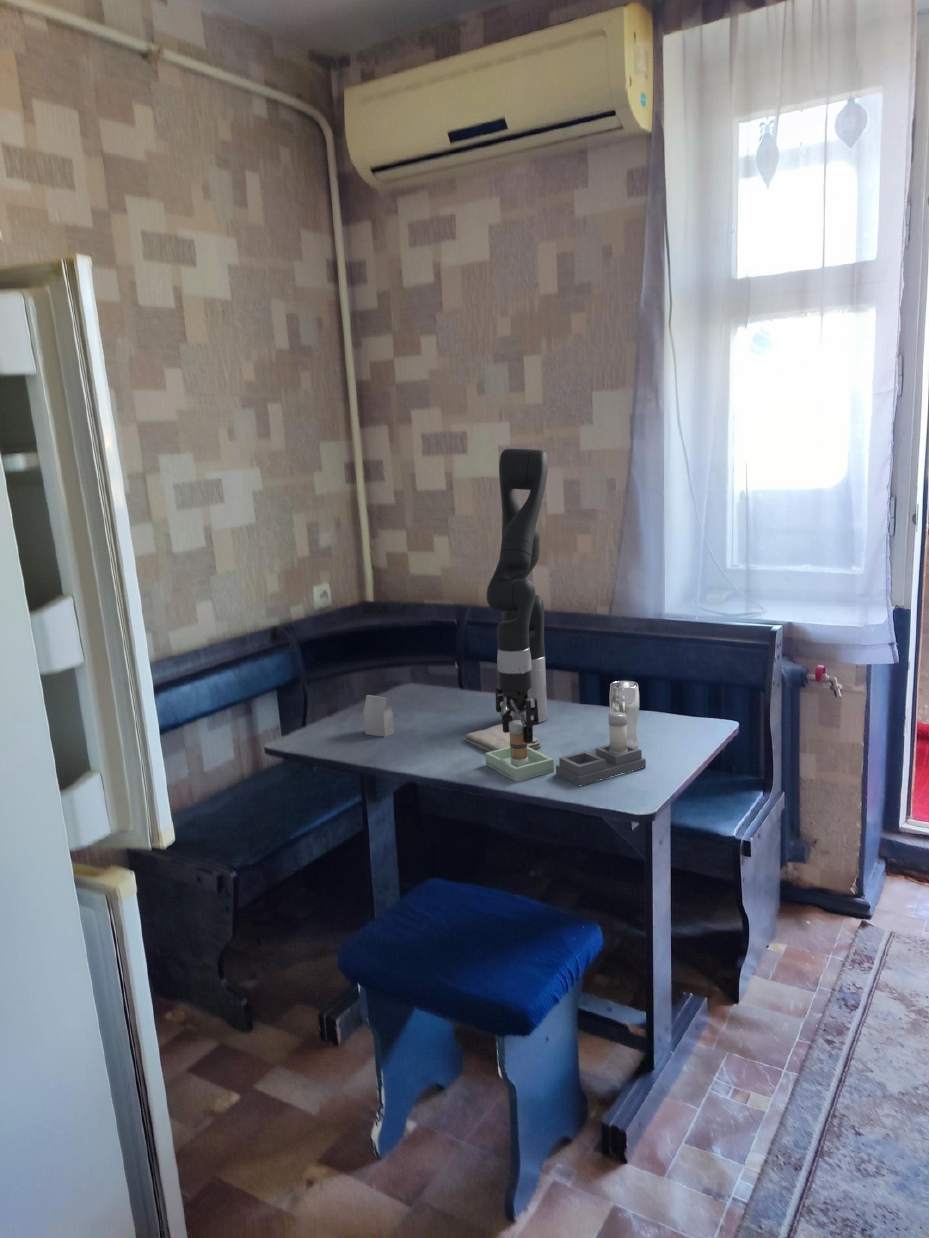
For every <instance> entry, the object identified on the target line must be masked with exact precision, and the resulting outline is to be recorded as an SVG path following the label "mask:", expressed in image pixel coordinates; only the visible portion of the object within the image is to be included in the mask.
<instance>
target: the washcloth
mask: <svg viewBox="0 0 929 1238" xmlns="http://www.w3.org/2000/svg"><path fill="white" fill-rule="evenodd" d="M464 741H466V742H468V743H469V744H472V745H474V746H476V747H477V748H478V747H479V748H481V749H483V750H485V751H487V752H491V751H495V750H499V749H503V748H507V747H510V733H509V732H508V733H505V732H503V724H502V723H501V724H497V725H493V726H490V727H488V728H485V729H480V730H476V731H473V732H469V733H467V734H465V736H464ZM527 746H528V747H530V748H532V749H534V750H536V751H537V750H539V749H541V748H542V745H541V744H540V742H539V738H537V737H535V736H533V741H532V742H529V743H527Z"/></svg>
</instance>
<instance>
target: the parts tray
mask: <svg viewBox="0 0 929 1238" xmlns="http://www.w3.org/2000/svg"><path fill="white" fill-rule="evenodd" d="M527 755H528V765H524V766H520V767H515V766H513V765H511V760H510V756H511V751H510V747H507V748H503V749H499V750H495V751H491V752H489V751H487V752H485V765H486V766H487V767H489V768H491V769H493V770H495V771H496V772H498V773H500V774H501V775H503V776H505V777H507V778H509V779H511V780H512V781H514V782H521V781H526V780H528V779H533V778H535V777H539V776H542V775H546V773H547V774H550V773H554V772H555V763H554V762H555V760H554V759H553V758H551V757H550V756H548V755H546V754H544V753H542V752H540V751H537V750H534V749H532V748H530V747H528V746H527Z"/></svg>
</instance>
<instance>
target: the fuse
mask: <svg viewBox="0 0 929 1238" xmlns="http://www.w3.org/2000/svg"><path fill="white" fill-rule="evenodd" d="M626 724H627V714H625V713H622V712H613V713H611V712H609V713H608V730H609V735H608V736H609V744H610V749H609V752H611V753H614V754H616V755H617V754H621V753H625V752H628V751H627V726H626Z"/></svg>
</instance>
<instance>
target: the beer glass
mask: <svg viewBox="0 0 929 1238" xmlns="http://www.w3.org/2000/svg"><path fill="white" fill-rule="evenodd" d="M609 685H610V687H609V708H610V709H609V710H610V713H613V712H622V713H625V714H627V724H626V726H627V744H628V745H631V746H633V747H635V748H638V745H639V740H638V736H637V735H638V734H637V725H638V718H639V713H640V691H639V684H638V682H636V681H632V680H618V681H613V682H611V683H610V684H609Z"/></svg>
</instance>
